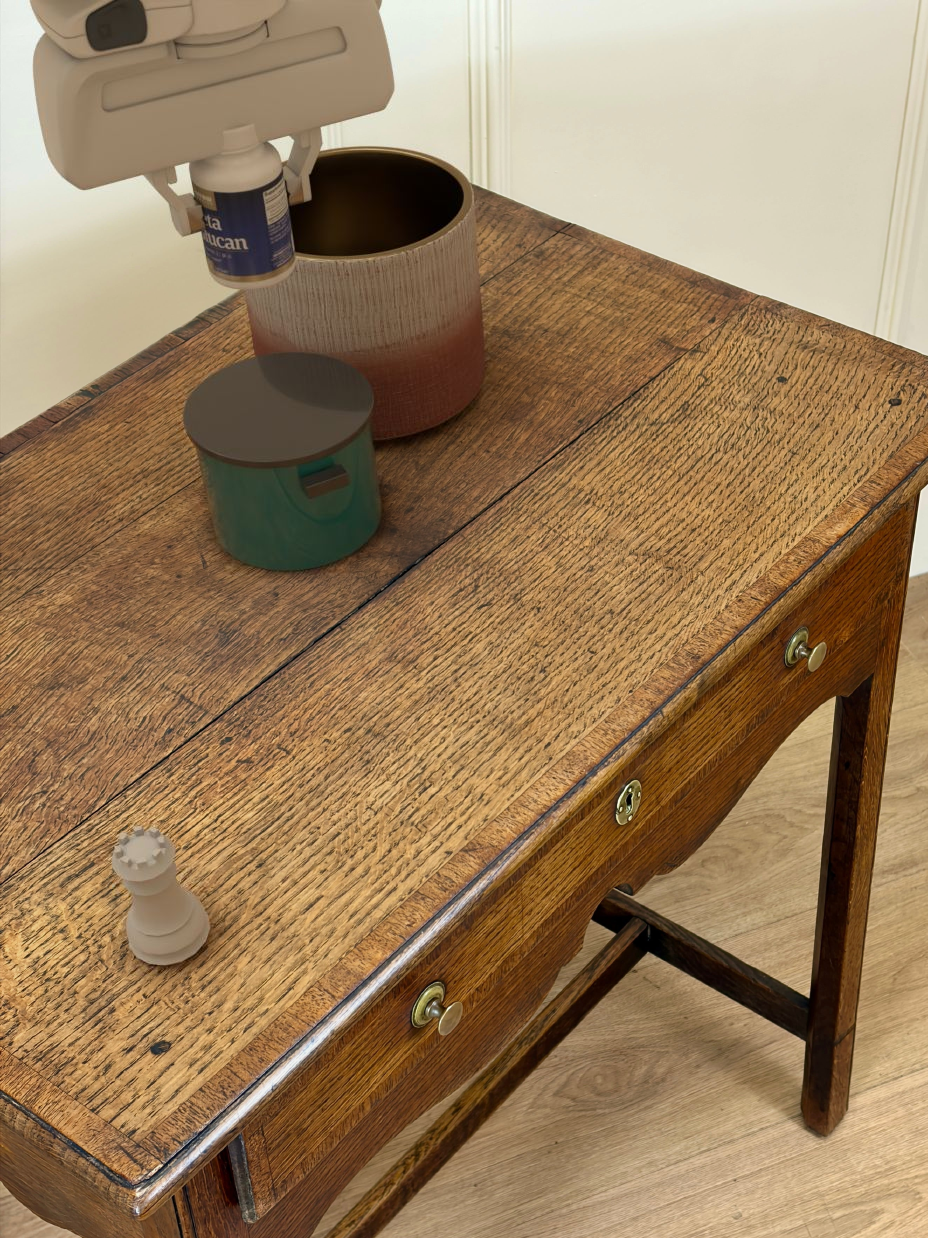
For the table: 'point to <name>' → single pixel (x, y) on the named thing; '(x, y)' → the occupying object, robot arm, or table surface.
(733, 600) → the table surface
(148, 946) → the rook chess piece
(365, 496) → the pot
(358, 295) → the planter
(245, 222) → the pill bottle
